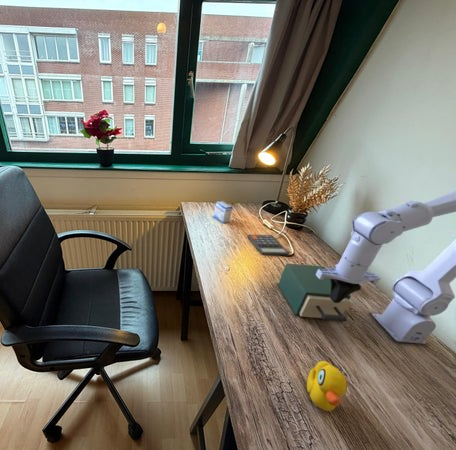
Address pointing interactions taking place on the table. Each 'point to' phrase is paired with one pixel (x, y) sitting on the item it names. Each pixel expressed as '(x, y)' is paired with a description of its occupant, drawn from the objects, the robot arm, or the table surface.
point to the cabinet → (302, 284)
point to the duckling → (326, 385)
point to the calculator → (268, 245)
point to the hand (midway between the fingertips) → (334, 300)
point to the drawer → (324, 308)
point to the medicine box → (223, 211)
